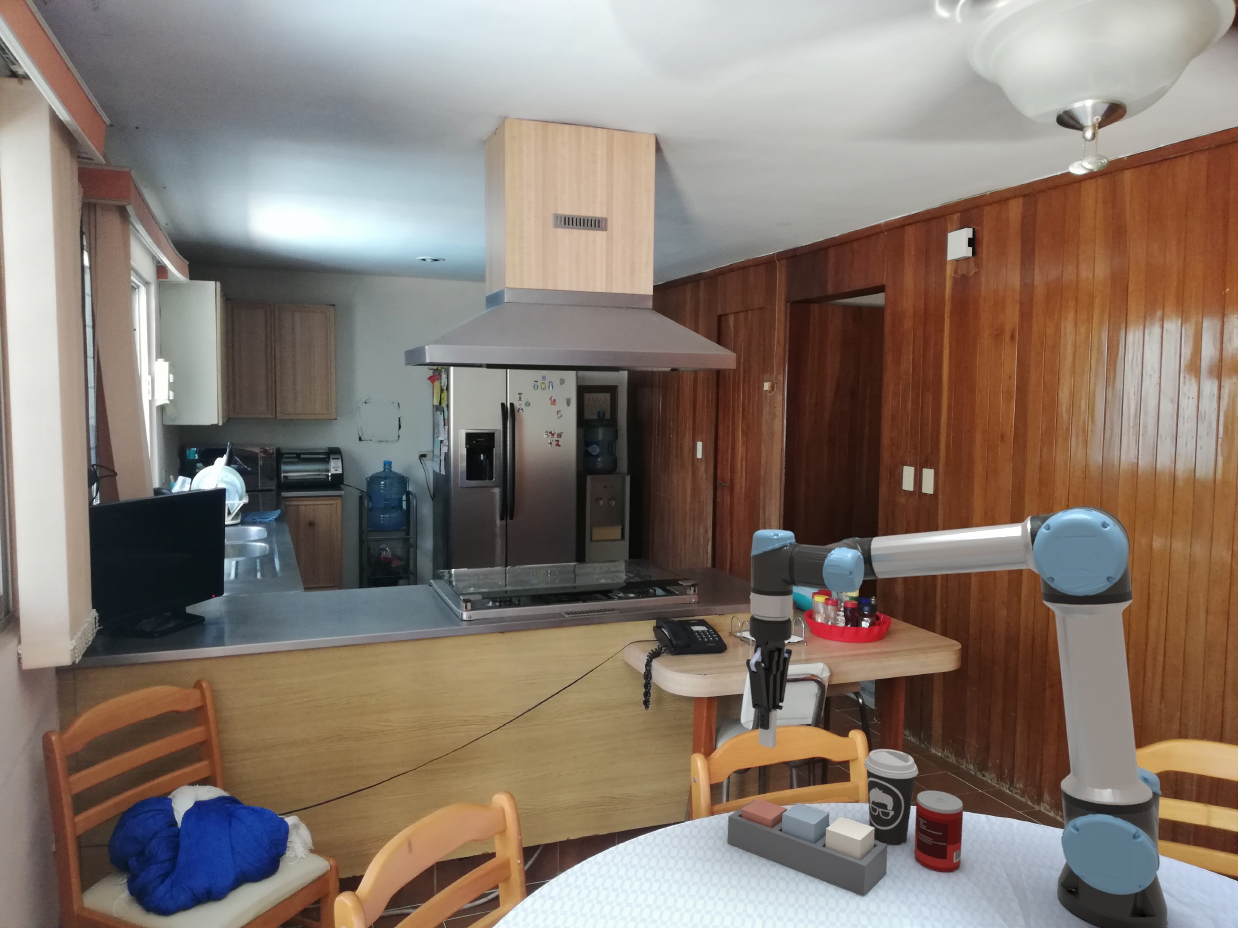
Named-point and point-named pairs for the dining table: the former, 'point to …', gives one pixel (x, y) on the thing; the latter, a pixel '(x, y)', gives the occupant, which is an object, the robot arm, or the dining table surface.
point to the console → (809, 855)
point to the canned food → (938, 830)
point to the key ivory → (850, 838)
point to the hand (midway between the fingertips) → (767, 744)
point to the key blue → (805, 822)
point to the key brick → (763, 813)
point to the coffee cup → (890, 794)
